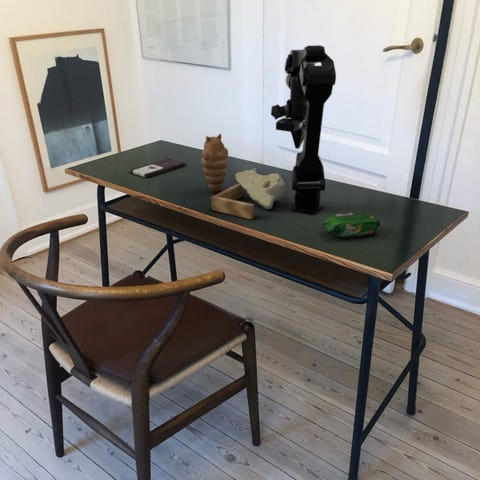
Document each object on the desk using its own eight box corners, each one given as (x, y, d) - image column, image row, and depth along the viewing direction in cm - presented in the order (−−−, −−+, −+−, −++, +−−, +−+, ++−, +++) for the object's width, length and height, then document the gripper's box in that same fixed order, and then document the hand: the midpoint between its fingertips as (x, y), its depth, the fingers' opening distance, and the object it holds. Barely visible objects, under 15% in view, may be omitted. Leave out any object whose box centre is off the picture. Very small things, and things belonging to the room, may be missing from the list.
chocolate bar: (184, 162, 193) (146, 174, 182) (184, 165, 194) (147, 177, 182) (168, 158, 198) (130, 169, 187) (168, 160, 199) (130, 172, 188)
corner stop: (276, 203, 160) (276, 191, 158) (251, 219, 150) (251, 206, 148) (238, 195, 167) (237, 183, 164) (211, 210, 157) (211, 197, 154)
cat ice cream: (210, 198, 165) (207, 139, 155) (197, 191, 170) (194, 134, 160) (233, 192, 169) (232, 135, 159) (220, 186, 174) (218, 129, 164)
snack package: (318, 231, 142) (319, 213, 139) (371, 225, 145) (374, 207, 142) (327, 242, 137) (329, 224, 134) (383, 235, 139) (386, 217, 136)
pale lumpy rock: (291, 214, 158) (288, 170, 163) (283, 202, 152) (280, 158, 156) (244, 224, 164) (243, 182, 168) (235, 214, 157) (233, 170, 162)
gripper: (291, 88, 169) (289, 138, 178) (260, 98, 156) (260, 152, 165) (322, 91, 164) (319, 142, 172) (294, 102, 151) (291, 157, 159)
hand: (297, 148), depth 167 cm, fingers closed
